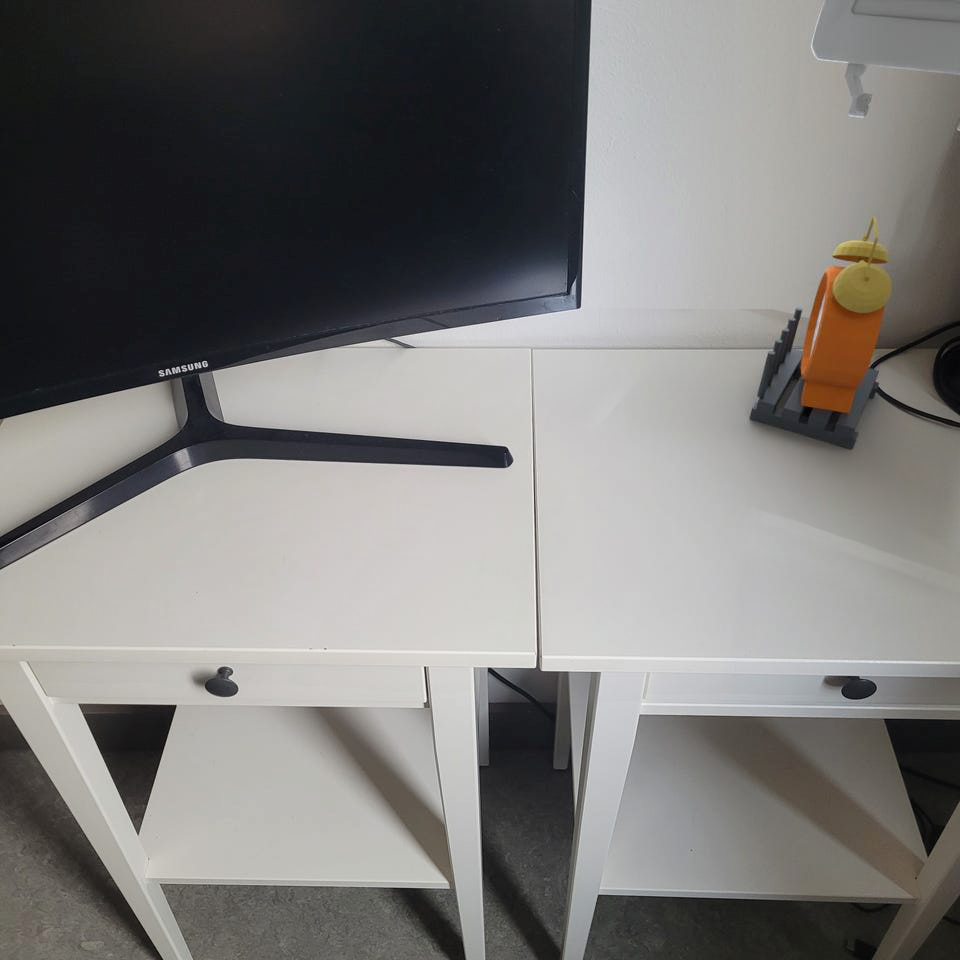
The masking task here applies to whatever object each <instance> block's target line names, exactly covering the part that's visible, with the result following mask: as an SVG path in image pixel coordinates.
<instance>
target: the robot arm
mask: <svg viewBox="0 0 960 960" xmlns="http://www.w3.org/2000/svg"><path fill="white" fill-rule="evenodd" d="M810 44H811V45H810V47H811V50H812V54H813V55H814V58H815V59H816V60H818V61H827V62H837V63H845V64H846V63H847V66H846V70H845V74H844V78H845V80H846V84H847V87H848V90H849V91H848V92H849V94H850V97H851V101H850V105H849V109H848V112H847V114H848V115H847V116H849V117H854V118H865V117H866V116H867V115H868V113H869V109H870V105H869V104H870V103H871V101H872V99H873V93H866V92H864V91H865V90H864V87H863V84H862V79H861V77H862V76H863V75H864V73H865V72H866V71H867V68H868V66H872V67H873V66H876V67H885V68H894V69H903V70H913V71H921V72H932V73H940V74H948V75H949V74H950V75H959V76H960V0H823V3H822V6H821V8H820V12H819V15H818V18H817V21H816V24H815V26H814V33H813V35H812V39H811V43H810ZM956 131H960V121H959V123H958V124H957V128H956Z"/></svg>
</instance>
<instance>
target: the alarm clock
mask: <svg viewBox="0 0 960 960" xmlns="http://www.w3.org/2000/svg"><path fill="white" fill-rule="evenodd" d="M872 228H874V229H873V230H874V241H868V240H869V238H870V235H871V233H872ZM878 241H879V232H878V223H877V216H874V215H873V216H872V217H871V219H870V223H869V227H868V230H867V232H866V235H863V236H862V238H861V240H848V241H844V242H840V244H839V245H838V246H836V247H835V249H834V251H833V254H832V258H833V259H836V260H840V261H845V262H851V263H852V264H849V265H847V266H846V267H845V266H837V265H832V266H830V267H827V268H826V269H825V272H824V273H823V275H822V277H821V279H820V282H819V285H818V287H817V291H816V294H815V297H814V301H813V304H812V308H811V311H810V316H809V320H808V325H807V328H806V333H805V338H804V343H803V350H802V351H803V355H802V363H801V375H802V378H803V379H804V380H805V383H804V387H803V391H802V396H801V405H802V406H806V407H809V408H820V409H827V410H833V412H839V413H841V412H845V413H850V409H851V405H852V401H853V398H854V394H855V390H856V388H858V387H859V386H860V384H861V382H862V380H863V378H864V377H865V374H866V372H867V369H868V368H870V367H869V366H870V364H871V362H872V358H873V355H874V352H875V349H876V345H877V342H878V338H879V334H880V330H881V327H882V321H883V317H884V312H885V306H886V304H887V303H888V302H889V300H890V298H891V295H892V288H893V287H892V286H893V285H892V279H891V278H890V275H889V273H888V272H886V270H884V268H882V267H881V266H879V265H881V264H883V265H884V264H885V265H886V264H888V262H889V254H888V251H887V249H886V247H885V246H883V245H881V244H879V243H878Z"/></svg>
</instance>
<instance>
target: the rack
mask: <svg viewBox="0 0 960 960" xmlns="http://www.w3.org/2000/svg"><path fill="white" fill-rule="evenodd" d="M802 313H803V308H802V307H795V310H794V314H793V317H789V318H788V322H787V325H786V327H785V328H783V329H781V332H780V337H779V339H775V341H774V344H773V347H772V348H773V349H772V350H769V351H768V352H767V354H766V359H765V363H764V366H763V369H762V370H763V371H762V374H761V378H760V382H759V386H758V390H757V394H756V396H757V398H758V400H757V402H755V403H754V404H753V407H752V408H751V410H750V414H749V419H750V420H752V421H755V422H758V423H762V424H765V425H769V426H772V427H776V428H779V429H782V430H786V431H789V432H792V433H795V434H798V435H802V436H806V437H809V438H812V439H815V440H818V441H822V442H825V443H829V444H832V445H835V446H839V447H842V448H844V449H848V450H853V449H854V446H855V444H856V442H857V439H858V437H859V434H860V433H859V432H858V431H855V430H856V428H857V426H858V423H859V421H860V419H861V416H862V414H863V412H864V410H865V407H866V405H867V402H868V400H869V399H872V400H873V399H874V398H875V396H876V394H877V391H878V388H879V385H880V382H878V381H876V380H877V378H878V376H879V372H880V370H878V369H874V368H871V367H868V369H867V372H866V374H865V377H864V378H863V380H862V382H861V384H860V386H859V387H858V388H856V390H855V394H854V398H853V401H852V405H851V409H850V413H845V412H840V415H839V417H838V419H837V422H836V423H835V425H834V424H832V423H829V421H830V419H831V417H832V416H833V413H834V411H833V410H827V409H820V408H814V407H812V410H811V412H810V414H809V416H808V417H807V416H803V414H804V412H805V410H806V408H807V406H802V405H801V396H802V391H803V387H804V383H805V380H804V379H803V378H802V375H801V363H802V355H803V350H800V349H797V348H793V345H794V342H795V338H796V335H797V332H798V328H799V324H800V321H801V316H802ZM794 378H796V379H798V381H797V383H796V385H795V386H794V388H793V390H792V392H791V393H790V395H789V397H788V399H787V401H786V402H785V405H784V406H783V409H781V408H777V407H778V406H779V404H780V403H781V401H782V399H783V397H784V395H785V394H786V391H787V390H788V388H789V386H790V384H791V383H792V381H793V379H794Z"/></svg>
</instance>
